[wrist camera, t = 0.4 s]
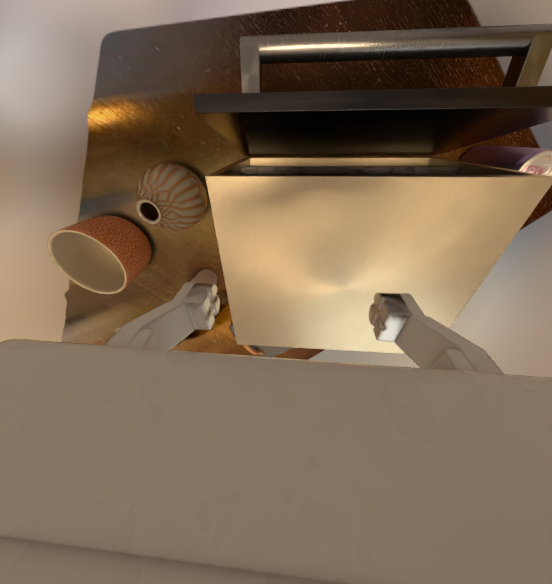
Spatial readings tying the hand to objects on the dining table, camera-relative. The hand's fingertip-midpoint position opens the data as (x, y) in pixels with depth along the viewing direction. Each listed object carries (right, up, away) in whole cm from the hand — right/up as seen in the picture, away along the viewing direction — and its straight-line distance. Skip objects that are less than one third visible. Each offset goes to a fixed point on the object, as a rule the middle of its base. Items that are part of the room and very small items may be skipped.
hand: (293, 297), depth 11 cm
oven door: (+12, +33, +32) cm, 48 cm away
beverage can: (+40, +28, +33) cm, 59 cm away
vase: (-23, +25, +41) cm, 53 cm away
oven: (+12, +17, +44) cm, 49 cm away
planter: (-43, +16, +50) cm, 68 cm away
